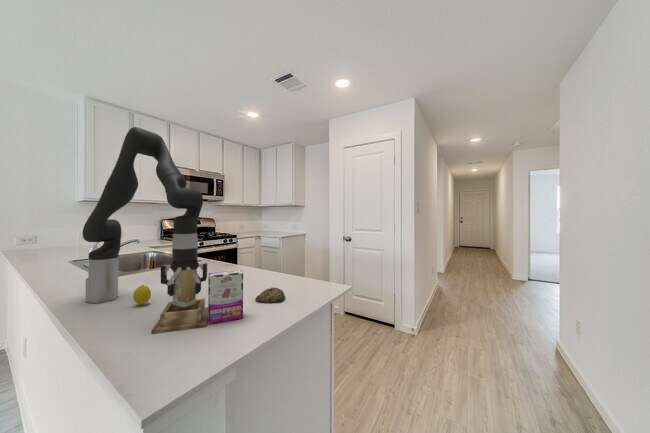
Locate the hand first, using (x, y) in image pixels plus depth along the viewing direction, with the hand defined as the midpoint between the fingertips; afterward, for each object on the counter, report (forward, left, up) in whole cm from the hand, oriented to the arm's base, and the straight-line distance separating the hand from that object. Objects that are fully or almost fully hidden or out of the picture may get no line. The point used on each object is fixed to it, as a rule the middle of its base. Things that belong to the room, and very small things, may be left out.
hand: (184, 294), depth 83 cm
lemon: (-18, +20, -9) cm, 28 cm away
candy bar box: (+13, -3, -9) cm, 16 cm away
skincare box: (0, 0, -4) cm, 4 cm away
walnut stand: (0, 0, -9) cm, 9 cm away
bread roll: (+31, +13, -9) cm, 35 cm away
